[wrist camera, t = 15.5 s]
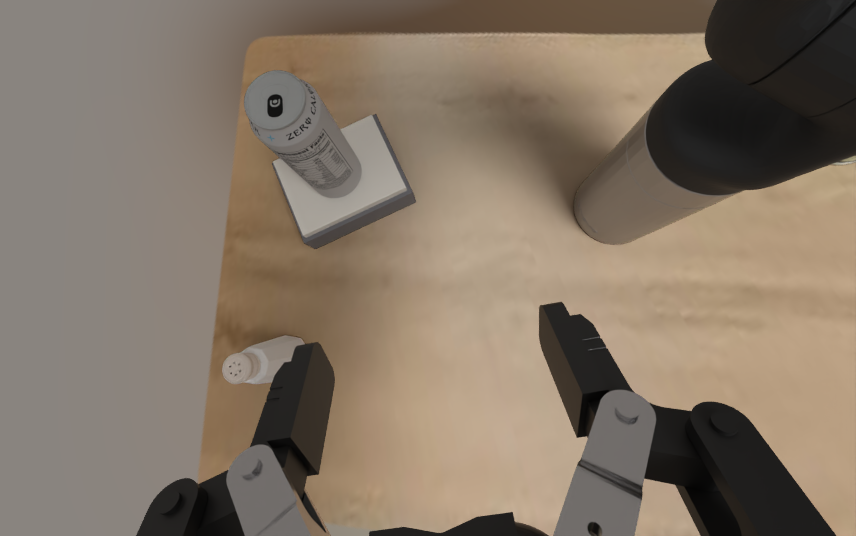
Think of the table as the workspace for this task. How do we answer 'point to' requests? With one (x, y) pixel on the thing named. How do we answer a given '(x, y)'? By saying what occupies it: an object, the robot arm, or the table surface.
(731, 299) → the table surface
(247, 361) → the pepper shaker
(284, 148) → the energy drink can
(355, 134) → the podium
